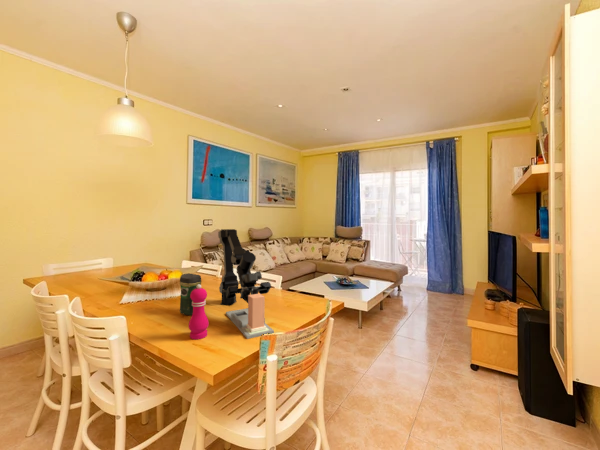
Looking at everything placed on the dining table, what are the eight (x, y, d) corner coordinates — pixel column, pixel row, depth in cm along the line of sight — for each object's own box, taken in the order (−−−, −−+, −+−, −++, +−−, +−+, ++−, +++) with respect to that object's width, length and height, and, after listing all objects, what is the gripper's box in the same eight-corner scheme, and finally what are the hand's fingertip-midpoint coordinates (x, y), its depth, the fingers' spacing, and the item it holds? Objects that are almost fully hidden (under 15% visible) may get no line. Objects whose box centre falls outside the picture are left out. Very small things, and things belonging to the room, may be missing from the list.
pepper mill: (191, 332, 107) (192, 282, 107) (210, 331, 108) (210, 281, 108) (185, 340, 100) (185, 286, 100) (205, 340, 101) (206, 286, 100)
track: (225, 313, 128) (225, 307, 128) (248, 310, 134) (248, 304, 134) (247, 338, 102) (247, 331, 102) (273, 332, 108) (273, 325, 108)
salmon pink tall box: (246, 326, 110) (246, 294, 110) (260, 323, 113) (260, 293, 113) (251, 332, 105) (251, 298, 105) (266, 329, 108) (266, 296, 108)
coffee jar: (204, 312, 130) (204, 273, 130) (190, 317, 124) (190, 276, 123) (191, 308, 135) (191, 271, 135) (176, 313, 128) (176, 274, 128)
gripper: (227, 267, 111) (235, 301, 102) (269, 263, 120) (280, 294, 111) (222, 282, 118) (229, 315, 109) (262, 277, 127) (272, 308, 118)
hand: (253, 307), depth 111 cm, fingers closed
